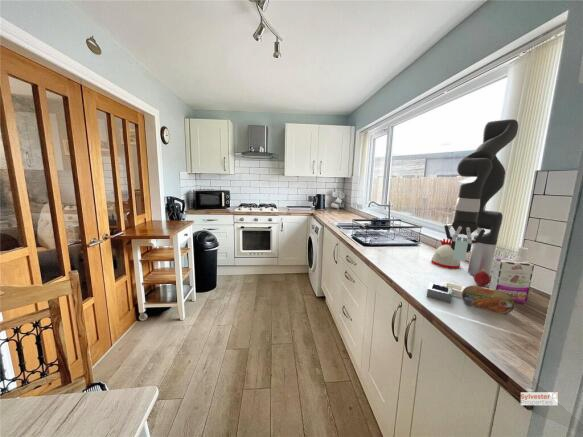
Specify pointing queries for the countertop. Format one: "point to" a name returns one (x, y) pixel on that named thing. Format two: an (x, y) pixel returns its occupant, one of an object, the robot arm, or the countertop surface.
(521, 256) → the bath foam
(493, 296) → the tin
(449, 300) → the block
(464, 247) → the plug
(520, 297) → the candy bar box
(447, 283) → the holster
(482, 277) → the onion
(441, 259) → the white dome
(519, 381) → the countertop surface
